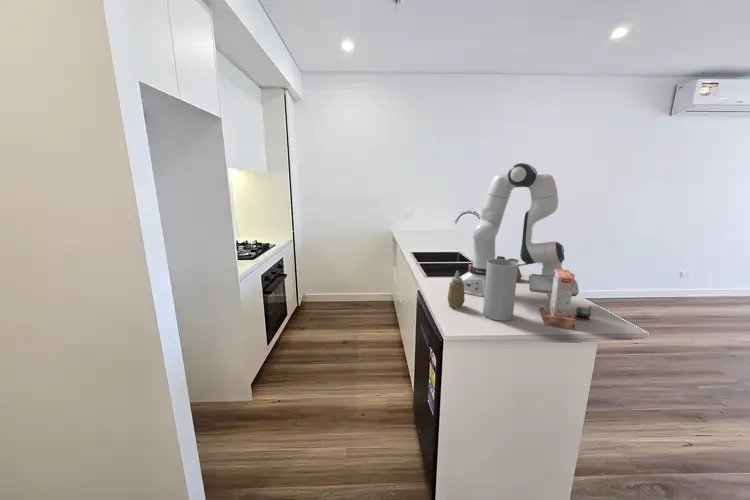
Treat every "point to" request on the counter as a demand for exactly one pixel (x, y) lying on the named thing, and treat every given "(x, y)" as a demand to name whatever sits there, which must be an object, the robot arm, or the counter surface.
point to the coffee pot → (518, 269)
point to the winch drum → (583, 313)
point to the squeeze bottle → (456, 292)
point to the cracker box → (561, 293)
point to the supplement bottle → (500, 257)
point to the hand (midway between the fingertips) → (553, 301)
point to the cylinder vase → (500, 289)
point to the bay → (557, 320)
